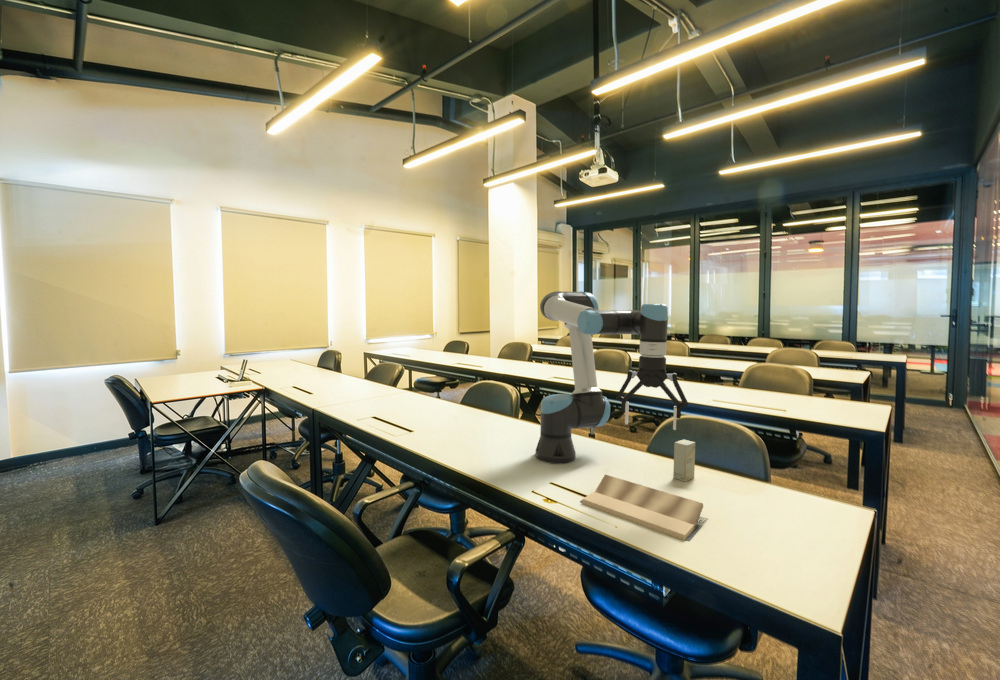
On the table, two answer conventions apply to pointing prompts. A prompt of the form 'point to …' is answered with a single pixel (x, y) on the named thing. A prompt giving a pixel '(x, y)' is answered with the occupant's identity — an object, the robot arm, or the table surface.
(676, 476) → the skincare box
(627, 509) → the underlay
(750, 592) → the table surface
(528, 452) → the table surface
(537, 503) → the table surface
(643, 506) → the plank
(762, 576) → the table surface
